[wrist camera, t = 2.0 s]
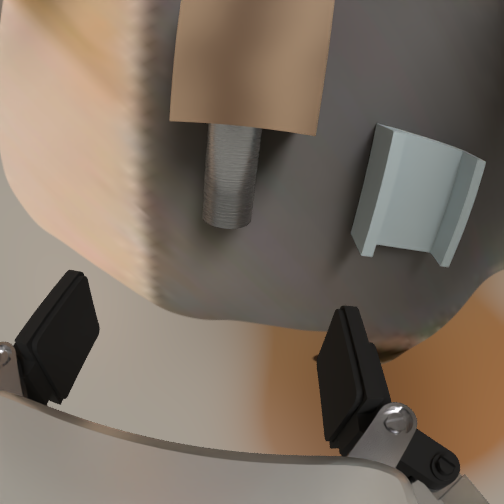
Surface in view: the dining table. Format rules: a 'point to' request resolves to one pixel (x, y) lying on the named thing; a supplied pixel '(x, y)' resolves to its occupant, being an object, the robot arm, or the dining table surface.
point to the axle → (230, 175)
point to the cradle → (415, 194)
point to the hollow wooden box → (251, 63)
